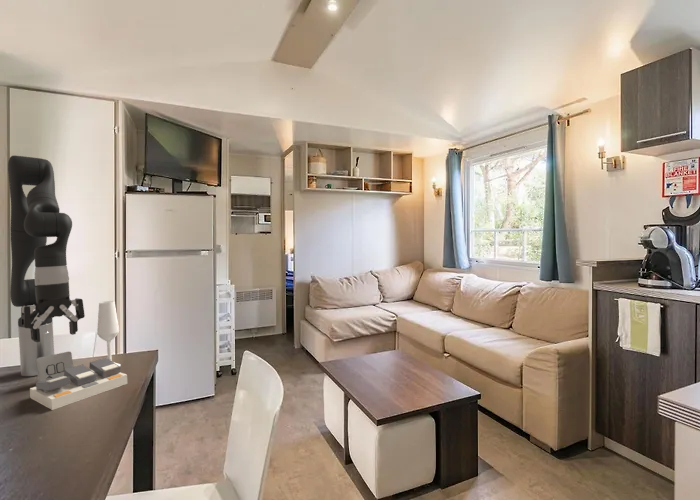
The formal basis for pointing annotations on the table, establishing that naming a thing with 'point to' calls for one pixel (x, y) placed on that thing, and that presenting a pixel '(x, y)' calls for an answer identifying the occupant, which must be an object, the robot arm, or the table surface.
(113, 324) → the champagne flute
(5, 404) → the table surface
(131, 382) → the table surface
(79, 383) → the rocker middle
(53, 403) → the switch panel
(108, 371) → the block
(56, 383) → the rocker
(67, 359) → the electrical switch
